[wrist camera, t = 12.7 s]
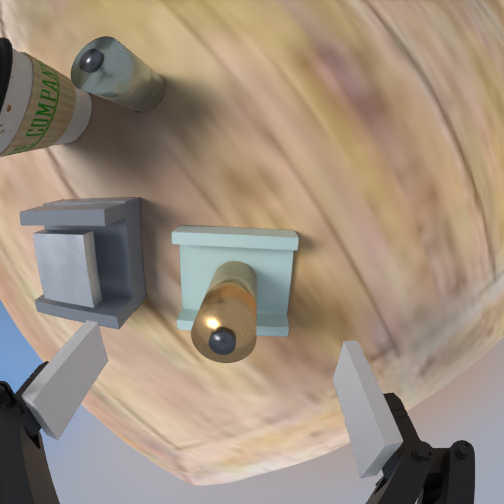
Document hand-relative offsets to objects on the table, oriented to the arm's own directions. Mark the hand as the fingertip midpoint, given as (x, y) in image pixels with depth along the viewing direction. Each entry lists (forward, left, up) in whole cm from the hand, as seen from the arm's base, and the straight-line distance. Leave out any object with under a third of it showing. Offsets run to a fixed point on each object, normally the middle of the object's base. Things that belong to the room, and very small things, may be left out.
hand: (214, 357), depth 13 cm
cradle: (-2, -14, -13) cm, 19 cm away
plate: (-2, -14, -7) cm, 16 cm away
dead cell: (-17, -9, -13) cm, 23 cm away
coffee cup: (-16, -18, -13) cm, 27 cm away
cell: (+1, 0, -12) cm, 12 cm away
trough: (0, 0, -13) cm, 13 cm away
